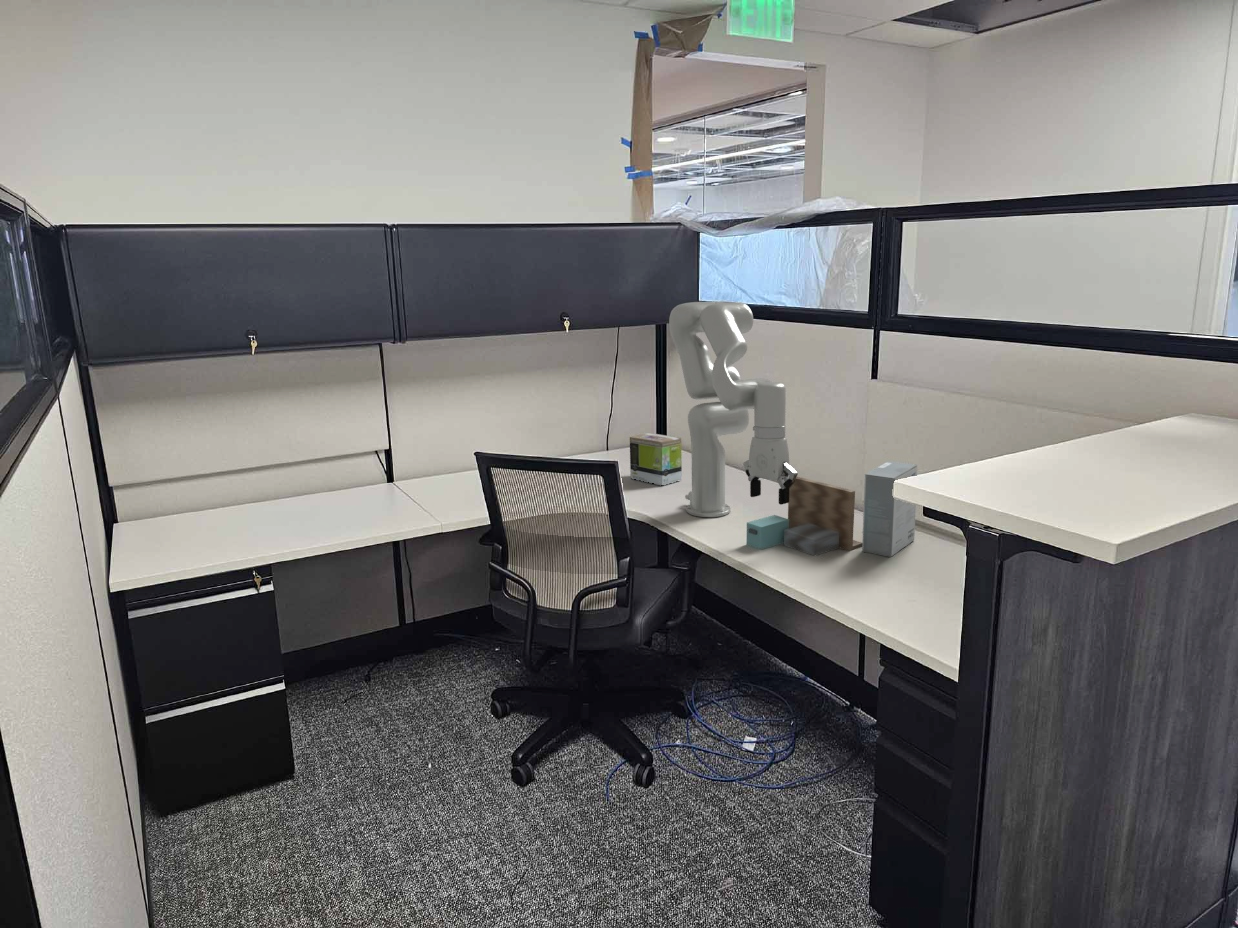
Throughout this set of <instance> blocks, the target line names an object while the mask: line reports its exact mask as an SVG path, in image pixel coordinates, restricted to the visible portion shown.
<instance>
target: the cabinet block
mask: <svg viewBox="0 0 1238 928" xmlns="http://www.w3.org/2000/svg"><path fill="white" fill-rule="evenodd" d="M786 529H789V519H788V518H786V517H783V516H779V515H776V514H773V515H770V516H769V515H768V516H766V517H762V518H758V519H755V520H752V521H748V522H746V546H749V547H753V548H755V549H758V550H765V549H768V548H770V547H774V546H776V545H781V544H784V530H786Z"/></svg>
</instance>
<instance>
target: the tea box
mask: <svg viewBox="0 0 1238 928" xmlns="http://www.w3.org/2000/svg"><path fill="white" fill-rule="evenodd" d="M629 459H630V460H629V463H630V465H629V466H630V467H629V469H630V479H631V478H632V479H631V480H634V479H636V480H635V481H639V480H641V481H640V482H643V481H644V483H648V482H649V483H648V484H652V483H654V484H653V485H657V486H661V485H664V486H667V485H666V484H668V483H672V482H675V483H677V482H676V481H678V480H681V481H682V475H683V474H682V461H683V460H682V438H681V437H678V436H671V435H665V434H660V433H659V434H658V433H652V432H647V433H642V434H638V435H633V436H629ZM672 484H673V483H672ZM668 485H669V484H668Z"/></svg>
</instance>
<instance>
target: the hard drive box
mask: <svg viewBox="0 0 1238 928" xmlns="http://www.w3.org/2000/svg"><path fill="white" fill-rule="evenodd" d="M910 476H917V477H918V465H917V464H913V463H906V462H901V461H900V462H898V461H892V460H889V461H887V462H885V463H883V464H881V465H879V466H877V467H875V468H874V469H872V470H870V471H868V472H867V473H865V474H864V487H863V488H864V491H863V492H864V493H863V513H862V514H863V515H862V516H863V518H862V519H863V522H862V541H861V542H862V546H861V551H862V552H864V553H868V554H874V555H878V556H883V557H888V558H890V557H891V558H892V557H893V556H895V555H896V554H898V552H900V551H901V550H903V548H905V547H907V546H908V545H910V544H911V543H912V542H914V541H915V534H916V533H915V532H916V510H917V509H916V508H917V507H916V506H917V504H916V505H912V504H910V503H906V502H902V501H900V500H896V499H894V498H893V496H892V489H893V483H894V481H895V480H898V479H901V478H907V477H910Z"/></svg>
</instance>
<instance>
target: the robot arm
mask: <svg viewBox="0 0 1238 928" xmlns="http://www.w3.org/2000/svg"><path fill="white" fill-rule="evenodd" d="M668 319H669V320H668V327H669V333H670V334H669V335H670V337H671V340H672V342H673V344H674V347H675V349H676V350H677V353H678V355H679V356H678V357H679V360H680V365H681V369H682V374H683V378H684V383H685V388H686V392H687V393H688V395H689V397H690V398H692V399H693V400H698V401H699V400H712V399H718V400H719V401H712V402H703V403H699V404H695V405H694V406H692V408H691V409H690V410H689V411H688V414H687V423H688V428H689V429H688V431H689V435H690V442H691V443H690V444H691V445H690V447H691V491H689V492H688V494H685V496H684V497H685V498H684V499H685V500H687V501H689V504H688V505H687V506H686V512H687V513H688V514H689V515H691V516H695V517H700V518H716V517H717V518H719V517H723V516H727V515H728V514H730V512H731V506H730V505H729V504H726V450H725V448H724V446H723V444H722V443H721V442H720V440H719V438H718V437H720V436H727V435H735V434H736V435H737V434H740V433H743V432H744V431H746V430H747V428H748V427H749V423H750V416H749V414H750V413H749V410H754V411H753V412H754V417H753V418H754V423H753V424H754V425H753V427H752V431H754V434H753V435H754V436H752V438H751V442H750V445H749V456H748V460H746V461H744V462H743V467H744V470H745V474H746V476H747V477H748V478H747V479H748V482H749V483H750V484H749V487H750V488H749V492H750V493H749V495H750V497H751V498H755V497H759V496H761V494H762V487H761V485H762V481H761V479H764V480H766V481H767V480H768V481H773V482H774V481H777V483H778V486H779V487H780V488H778V504H779V505H785V504H788V503H789V488H790V487H792V484H793V483H794V482H795V479H796V477H798V472H797V471H796V470H795V468H793V467H792V466H791V465H790V454H789V446H788V439H787V438H786V405H787V404H786V403H787V402H786V399H787V398H786V397H787V396H786V395H787V394H786V392H787V390H786V386H785V384H783V383H782V382H774V381H772V380H769V379H767V378H753V379H752V378H751V379H742V378H741V374H740V373H739V371H738V369H737V368H735V366H733V364H735V363H737V362H738V361H740V360H741V359H742V358H744V356H745V354H747V351H748V343H747V341H746V339H745V338H744V335H743V334H747V333H749V332H750V330H751V329H752V328H753V325H754V315H753V312H752V310H751V308H750V307H749V306H748V304H746V303H744V302H740V301H739V302H737V301H725V300H724V301H723V300H718V301H693V302H685V303H680V304H678V305H676V306H675V307H674V308H672V310H671V311H670V315H669V318H668ZM697 333H699V334H700V333H704V334H705V336H706V338H707V340H708V342H709V344H710V346H711V348H712V350H713V353H714V354H715V357H716V358H715V360H714V363H713V361H712V358H711V353H710V349H709V348H708V346H707V345H706V343H705V342H704V341H703V340H702V339H701V338H700V337H699V336H697Z"/></svg>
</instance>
